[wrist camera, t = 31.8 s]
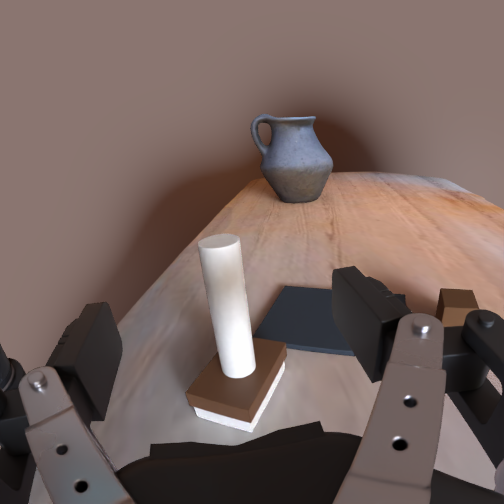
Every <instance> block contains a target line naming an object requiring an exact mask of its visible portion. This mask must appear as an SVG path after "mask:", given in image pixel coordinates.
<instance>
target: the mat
mask: <svg viewBox="0 0 504 504" xmlns="http://www.w3.org/2000/svg"><path fill="white" fill-rule="evenodd" d="M394 295H395V297H397V298H398V299H399V300H400V301H401V302H402V303H403V304H404V305H405V306H406V304H405V295H404V294H394ZM253 337H254V338H260V339H266V340H272V341H279V342H285V343H286V348H291V349H298V350H306V351H313V352H322V353H330V354H339V355H349V356H355V354H354V353H353V351H352V350H351V348H350V346H349V345H348V343H347V342H346V340H345V338H344V337H343V335H342V334H341V332H340V331H339V329H338V327H337V326H336V324H335V322H334V319H333V315H332V290H330V289H317V288H305V287H293V286H285V287H284V288H283V290H282V292H281V293H280V295H279V296H278V298H277V299H276V301H275V303H274V304H273V306H272V307H271V309H270V310H269V312H268V314H267V315H266V317H265V318H264V320H263V321H262V323H261V324H260V326H259V327H258V329H257V330H256V332H255V334H254V335H253Z"/></svg>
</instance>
